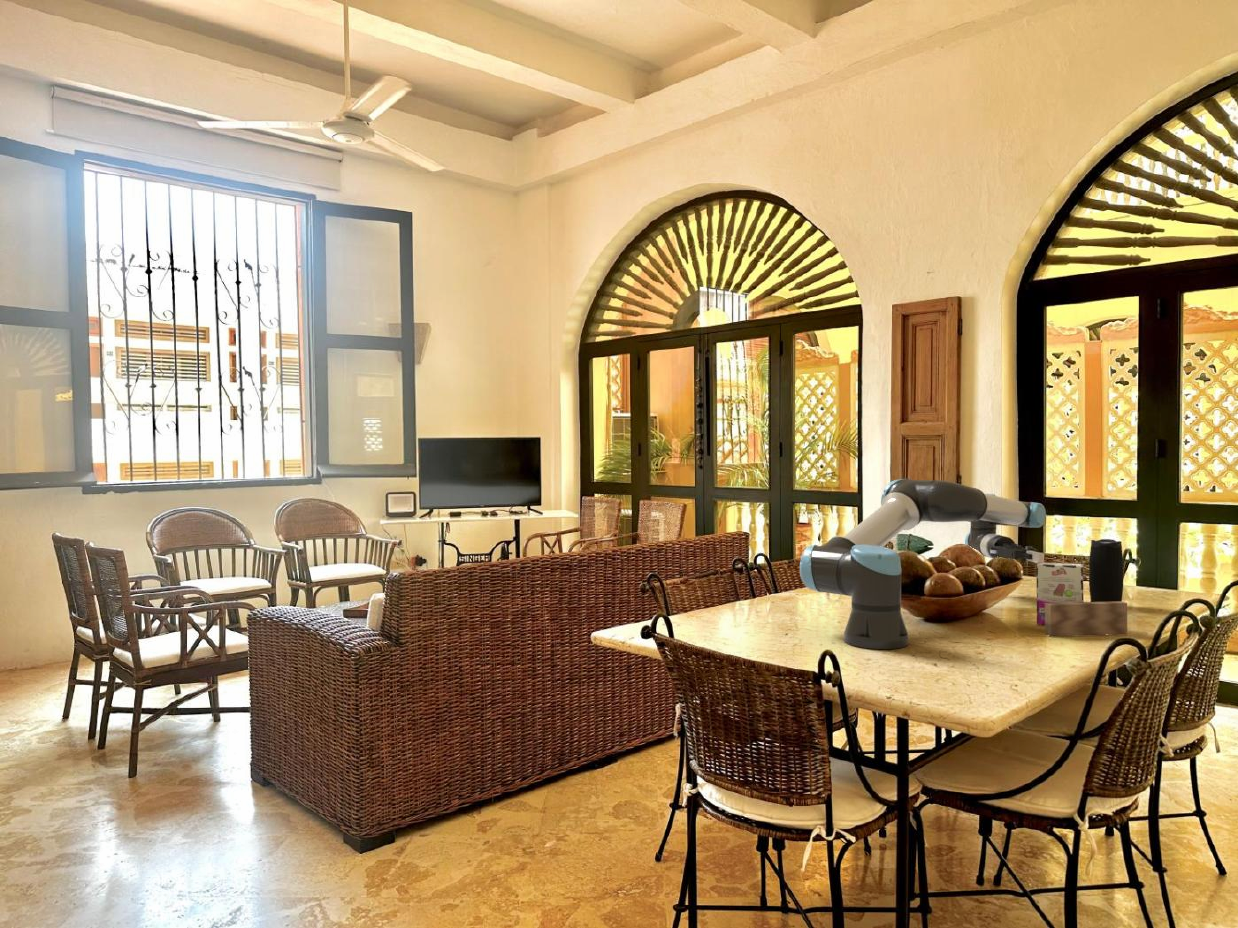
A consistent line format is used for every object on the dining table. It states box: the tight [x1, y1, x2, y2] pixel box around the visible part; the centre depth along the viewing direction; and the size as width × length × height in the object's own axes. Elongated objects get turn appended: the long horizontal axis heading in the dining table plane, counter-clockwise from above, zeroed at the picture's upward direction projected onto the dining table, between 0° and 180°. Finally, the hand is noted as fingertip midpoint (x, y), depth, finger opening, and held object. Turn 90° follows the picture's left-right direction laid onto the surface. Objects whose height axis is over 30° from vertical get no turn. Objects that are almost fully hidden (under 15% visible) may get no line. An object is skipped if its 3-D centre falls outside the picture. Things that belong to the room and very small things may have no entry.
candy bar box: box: [1035, 562, 1085, 626], centre depth 230 cm, size 11×5×16 cm, turn 62°
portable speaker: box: [1088, 538, 1124, 602], centre depth 254 cm, size 9×9×20 cm
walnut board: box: [1044, 600, 1128, 637], centre depth 219 cm, size 20×2×8 cm, turn 94°
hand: (1041, 558), depth 239 cm, fingers closed
